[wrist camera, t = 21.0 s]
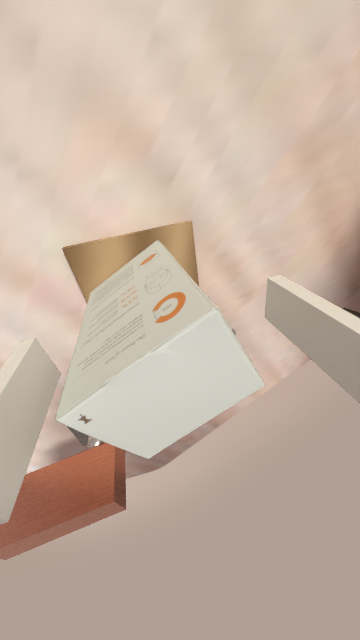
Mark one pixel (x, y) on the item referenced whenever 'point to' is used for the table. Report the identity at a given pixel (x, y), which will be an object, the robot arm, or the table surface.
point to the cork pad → (129, 253)
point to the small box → (152, 359)
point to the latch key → (65, 498)
